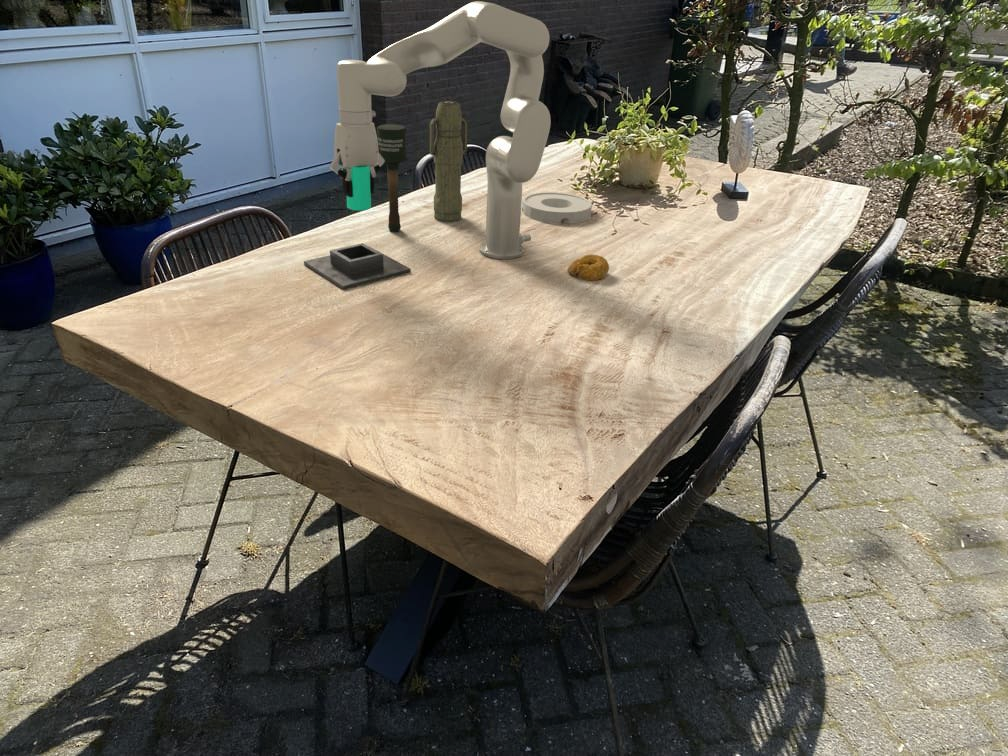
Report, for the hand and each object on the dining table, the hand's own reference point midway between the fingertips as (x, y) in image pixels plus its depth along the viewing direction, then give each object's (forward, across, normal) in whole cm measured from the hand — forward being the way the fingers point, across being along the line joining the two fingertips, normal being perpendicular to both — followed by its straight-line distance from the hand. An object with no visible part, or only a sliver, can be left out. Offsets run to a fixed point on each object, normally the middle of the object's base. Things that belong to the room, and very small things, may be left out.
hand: (359, 193), depth 175 cm
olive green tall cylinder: (+20, -45, -22) cm, 54 cm away
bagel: (+20, -47, +37) cm, 63 cm away
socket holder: (+20, +1, -1) cm, 20 cm away
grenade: (+20, -24, -21) cm, 37 cm away
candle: (+4, 0, 0) cm, 4 cm away
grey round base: (+20, -79, -6) cm, 82 cm away
